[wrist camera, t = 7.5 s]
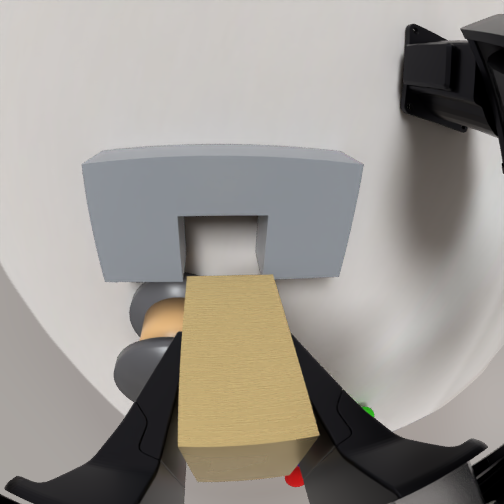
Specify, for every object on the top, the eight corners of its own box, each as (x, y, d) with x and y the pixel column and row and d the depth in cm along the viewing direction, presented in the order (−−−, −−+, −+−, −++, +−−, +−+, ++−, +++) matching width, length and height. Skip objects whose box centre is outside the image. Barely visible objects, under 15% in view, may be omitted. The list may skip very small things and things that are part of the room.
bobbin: (235, 271, 20) (246, 346, 14) (233, 347, 24) (241, 414, 18) (121, 273, 18) (96, 345, 13) (142, 347, 23) (132, 413, 17)
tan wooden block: (272, 274, 10) (319, 435, 5) (263, 346, 12) (289, 475, 7) (187, 276, 10) (177, 446, 5) (195, 349, 12) (197, 481, 7)
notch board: (340, 151, 16) (363, 164, 13) (323, 251, 20) (338, 276, 17) (102, 150, 14) (81, 163, 12) (117, 254, 18) (105, 281, 15)
